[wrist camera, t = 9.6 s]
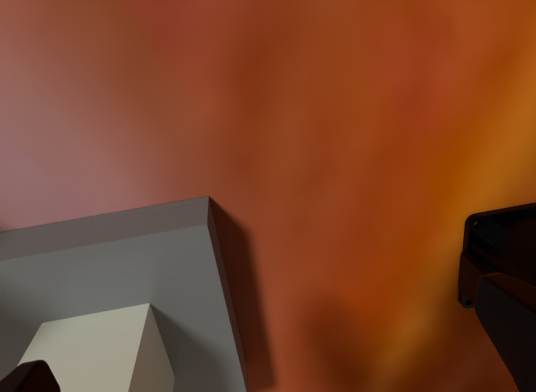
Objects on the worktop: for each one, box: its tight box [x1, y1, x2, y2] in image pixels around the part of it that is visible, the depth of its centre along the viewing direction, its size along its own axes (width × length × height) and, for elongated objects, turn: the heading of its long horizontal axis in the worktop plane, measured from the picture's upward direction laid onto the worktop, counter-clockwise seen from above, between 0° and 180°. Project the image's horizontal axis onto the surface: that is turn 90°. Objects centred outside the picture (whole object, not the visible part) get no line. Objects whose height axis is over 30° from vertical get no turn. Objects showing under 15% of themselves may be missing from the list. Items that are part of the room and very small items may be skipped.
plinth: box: [0, 196, 249, 392], centre depth 21 cm, size 12×12×3 cm
